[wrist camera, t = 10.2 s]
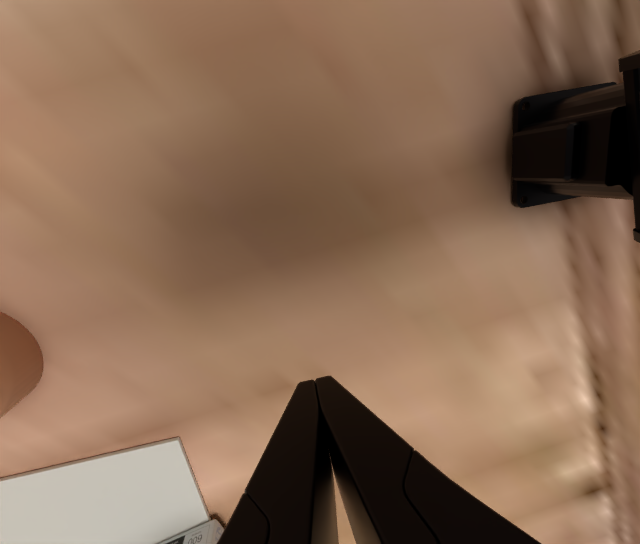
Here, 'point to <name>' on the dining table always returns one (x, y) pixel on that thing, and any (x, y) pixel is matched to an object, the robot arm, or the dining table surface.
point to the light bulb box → (199, 534)
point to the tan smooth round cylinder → (17, 363)
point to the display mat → (105, 499)
